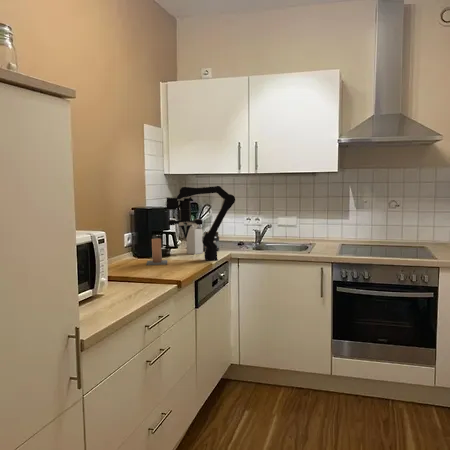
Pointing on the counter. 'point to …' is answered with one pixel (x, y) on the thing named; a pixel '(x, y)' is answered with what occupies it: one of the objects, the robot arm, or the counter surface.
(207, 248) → the robot arm
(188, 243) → the milk carton
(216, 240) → the supplement container
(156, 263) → the gray panel
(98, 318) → the counter surface
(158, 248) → the brown rounded tapered cylinder
